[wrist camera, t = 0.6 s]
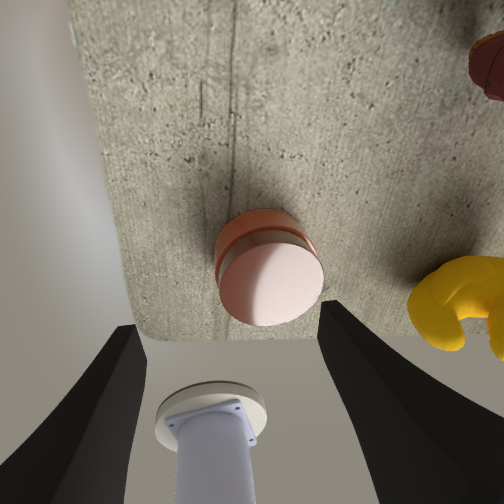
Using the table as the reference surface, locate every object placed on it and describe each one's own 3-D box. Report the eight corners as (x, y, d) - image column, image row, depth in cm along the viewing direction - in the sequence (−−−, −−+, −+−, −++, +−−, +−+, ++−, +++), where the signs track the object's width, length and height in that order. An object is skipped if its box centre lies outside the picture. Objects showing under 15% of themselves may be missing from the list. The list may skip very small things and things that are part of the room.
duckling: (515, 218, 24) (680, 298, 16) (512, 265, 27) (650, 353, 19) (385, 275, 26) (474, 377, 17) (394, 314, 29) (475, 417, 20)
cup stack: (311, 276, 24) (330, 313, 21) (226, 298, 24) (231, 339, 21) (301, 197, 21) (323, 225, 17) (201, 222, 20) (201, 256, 17)
